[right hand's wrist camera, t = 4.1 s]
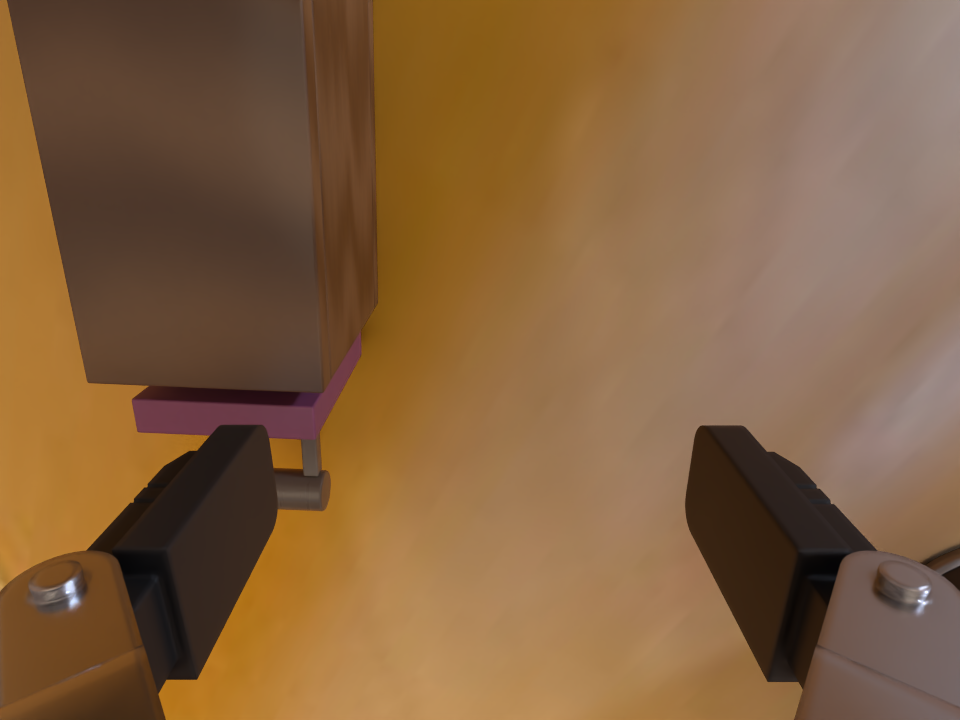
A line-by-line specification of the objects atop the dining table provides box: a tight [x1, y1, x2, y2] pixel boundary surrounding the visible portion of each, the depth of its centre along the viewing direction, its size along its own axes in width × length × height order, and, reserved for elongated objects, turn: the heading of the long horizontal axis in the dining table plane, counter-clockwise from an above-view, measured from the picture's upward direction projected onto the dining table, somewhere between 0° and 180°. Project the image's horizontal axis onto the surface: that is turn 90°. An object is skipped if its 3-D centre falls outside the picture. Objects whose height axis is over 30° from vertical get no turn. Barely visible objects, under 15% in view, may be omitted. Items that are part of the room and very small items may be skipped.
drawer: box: [132, 332, 361, 511], centre depth 20 cm, size 23×6×8 cm, turn 177°
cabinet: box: [7, 0, 378, 393], centre depth 18 cm, size 19×7×10 cm, turn 177°
